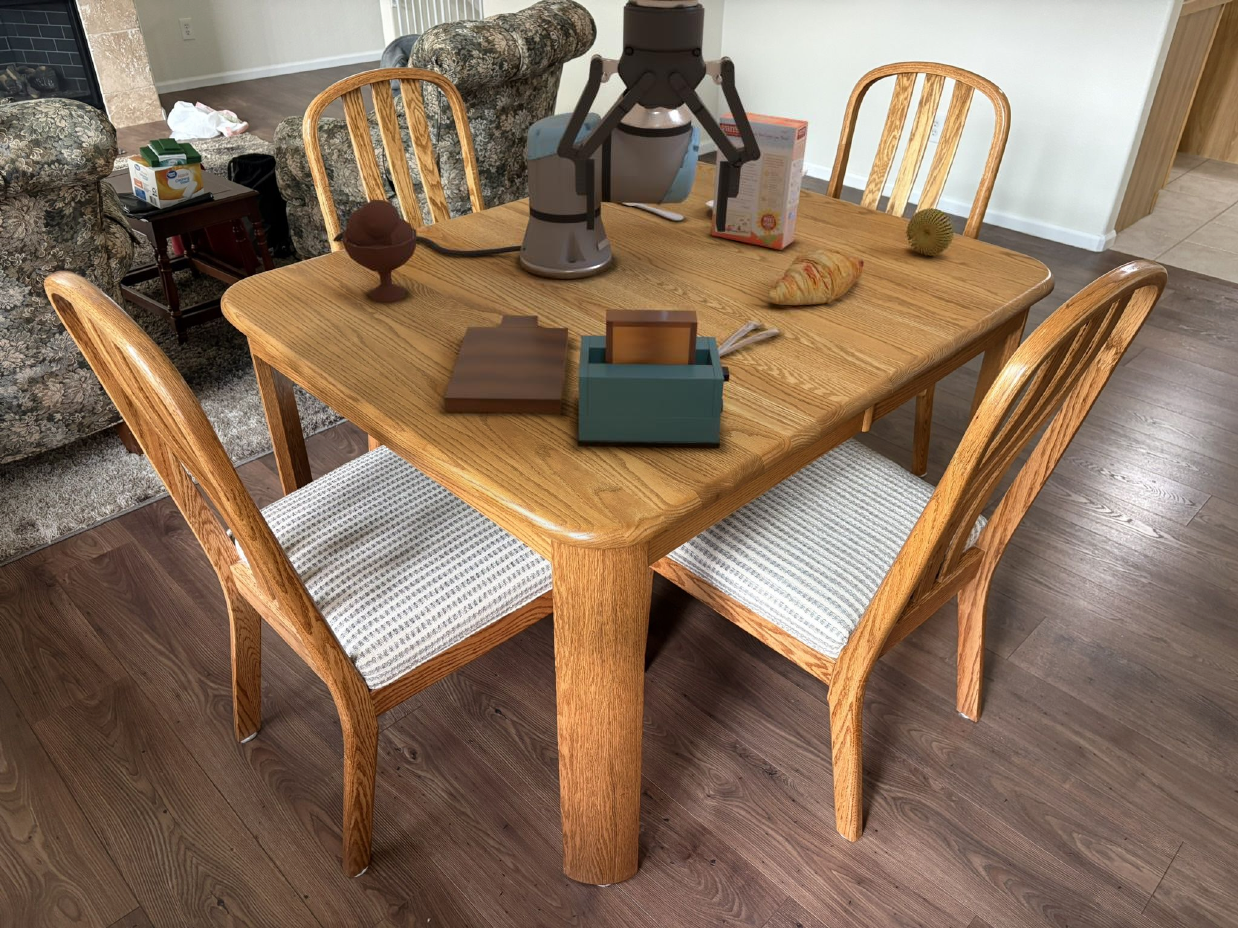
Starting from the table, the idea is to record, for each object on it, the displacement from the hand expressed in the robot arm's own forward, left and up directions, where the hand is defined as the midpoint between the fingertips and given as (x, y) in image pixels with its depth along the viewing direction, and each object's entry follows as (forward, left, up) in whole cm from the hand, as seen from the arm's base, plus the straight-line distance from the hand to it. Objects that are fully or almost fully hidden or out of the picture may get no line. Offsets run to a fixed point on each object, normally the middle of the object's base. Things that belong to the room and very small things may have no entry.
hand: (655, 227), depth 95 cm
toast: (0, 0, -20) cm, 20 cm away
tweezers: (-1, +23, -24) cm, 34 cm away
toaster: (0, 0, -24) cm, 24 cm away
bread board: (-22, +2, -24) cm, 33 cm away
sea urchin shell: (+9, +76, -24) cm, 80 cm away
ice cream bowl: (-53, +9, -24) cm, 59 cm away
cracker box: (-19, +65, -24) cm, 72 cm away
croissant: (0, +49, -24) cm, 55 cm away
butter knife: (-46, +68, -24) cm, 86 cm away
